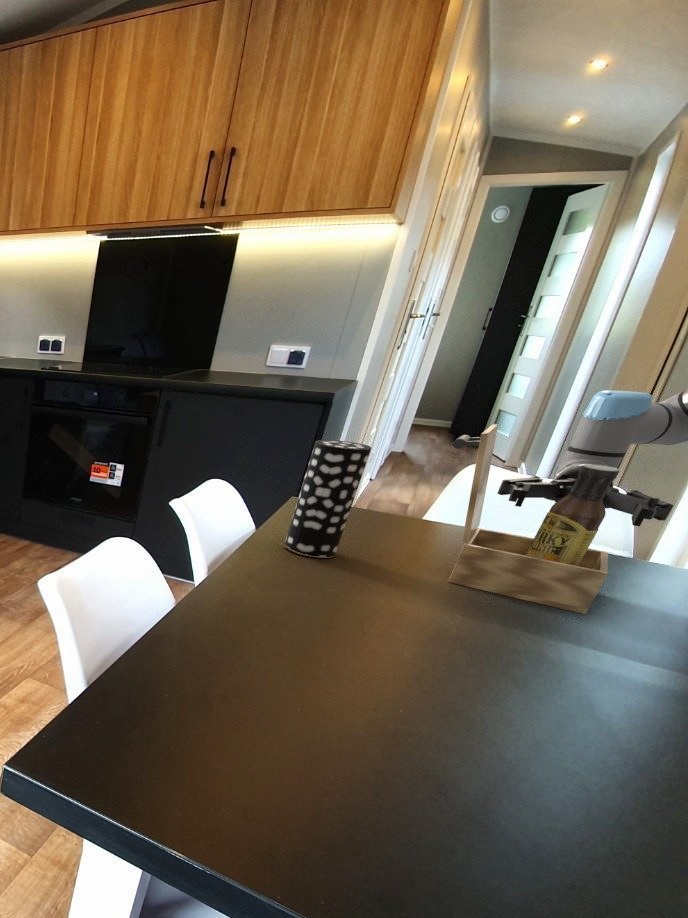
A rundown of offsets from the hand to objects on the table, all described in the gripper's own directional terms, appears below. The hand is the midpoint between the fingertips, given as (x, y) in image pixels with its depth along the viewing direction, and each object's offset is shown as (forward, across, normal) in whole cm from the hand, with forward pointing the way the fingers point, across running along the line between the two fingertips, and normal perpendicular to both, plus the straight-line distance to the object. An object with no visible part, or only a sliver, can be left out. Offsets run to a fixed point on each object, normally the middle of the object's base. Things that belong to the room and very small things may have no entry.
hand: (578, 507), depth 101 cm
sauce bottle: (+4, 0, -13) cm, 13 cm away
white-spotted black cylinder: (+12, +32, -14) cm, 36 cm away
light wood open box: (+4, +3, -14) cm, 14 cm away
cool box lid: (+4, +12, +2) cm, 13 cm away
